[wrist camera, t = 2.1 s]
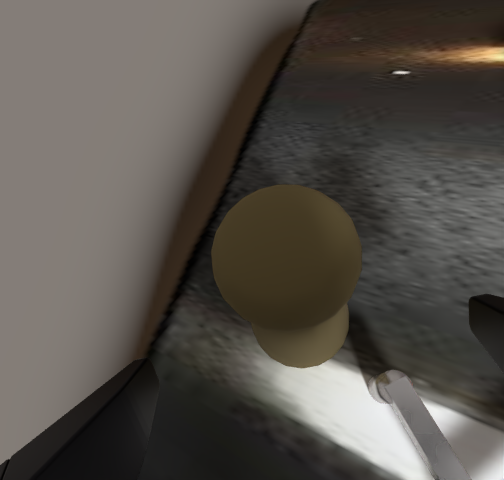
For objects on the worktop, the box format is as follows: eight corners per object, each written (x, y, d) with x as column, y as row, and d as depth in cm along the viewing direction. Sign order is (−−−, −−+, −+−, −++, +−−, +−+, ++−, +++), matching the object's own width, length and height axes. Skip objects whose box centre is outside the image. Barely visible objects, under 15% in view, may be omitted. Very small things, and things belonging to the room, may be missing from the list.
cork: (233, 308, 20) (154, 226, 10) (304, 253, 21) (293, 129, 11) (291, 391, 17) (258, 386, 7) (371, 324, 18) (434, 241, 8)
